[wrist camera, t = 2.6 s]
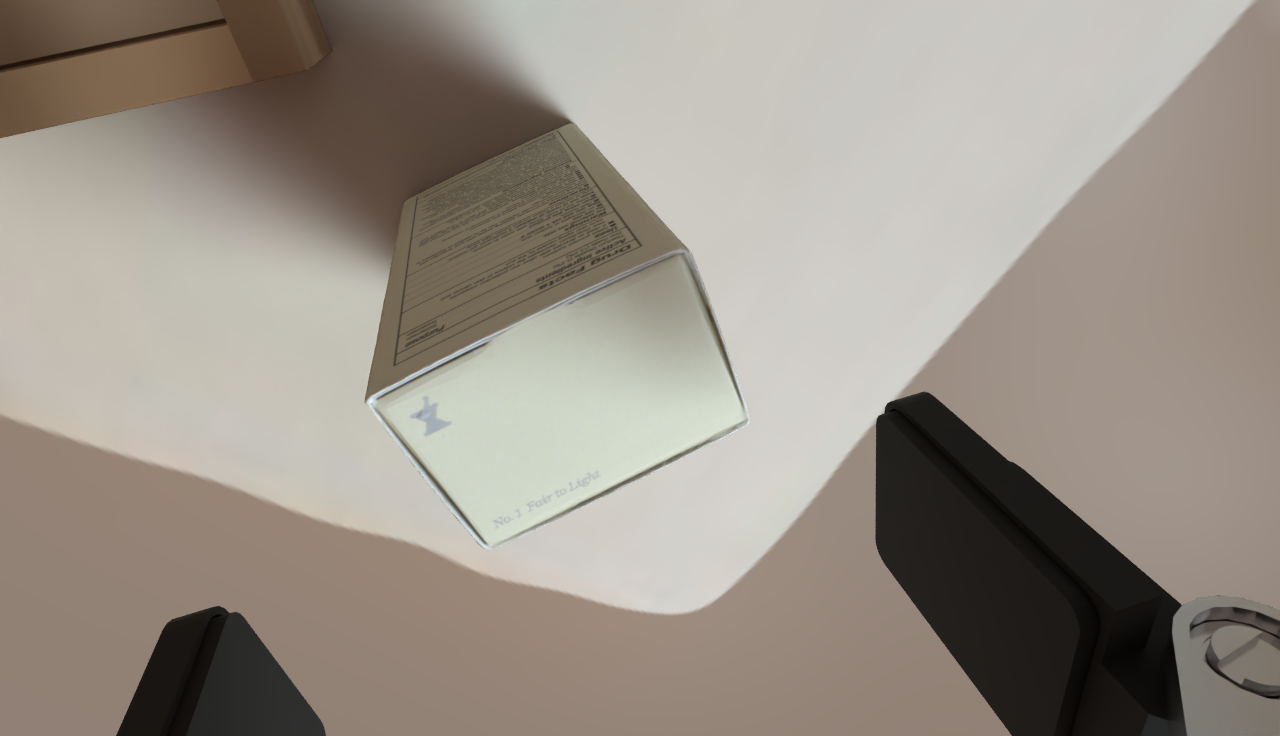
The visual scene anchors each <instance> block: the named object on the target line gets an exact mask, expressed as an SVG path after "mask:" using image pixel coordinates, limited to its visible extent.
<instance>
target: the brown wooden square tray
mask: <svg viewBox="0 0 1280 736" xmlns="http://www.w3.org/2000/svg"><path fill="white" fill-rule="evenodd" d="M330 52H332V50H331V47H330V45H329V42H328V40H327V37H326V34H325V32H324V29H323V27H322V24H321V21H320V19H319V16H318V14H317V11H316V8H315V6H314V3H313V1H312V0H0V138H3V137H7V136H12V135H16V134H21V133H26V132H30V131H35V130H39V129H44V128H48V127H53V126H57V125H62V124H66V123H71V122H75V121H80V120H85V119H89V118H94V117H98V116H103V115H107V114H112V113H116V112H121V111H125V110H130V109H134V108H139V107H144V106H148V105H153V104H157V103H162V102H166V101H171V100H175V99H180V98H184V97H189V96H193V95H198V94H202V93H207V92H212V91H216V90H221V89H225V88H230V87H234V86H239V85H243V84H248V83H252V82H257V81H261V80H266V79H271V78H275V77H280V76H284V75H289V74H293V73H298V72H302V71H306V70H308V69H309V68H310V67H312V66H313V65H314V64H316V63H317V62H318V61H320V60H321V59H322V58H324V57H325V56H326V55H328V54H329V53H330Z"/></svg>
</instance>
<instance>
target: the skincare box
mask: <svg viewBox="0 0 1280 736" xmlns="http://www.w3.org/2000/svg"><path fill="white" fill-rule="evenodd" d="M365 403H366V405H367V406H368V407H369V409H370V410H371V411H372V412H373V413H374V415H375V416H376V417H377V418H378V419H379V421H380V422H381V424H382V425H383V427H384V428H385V430H386V431H387V432H388V434H389V435H390V436H391V437H392V438H393V440H394V441H395V442H396V444H397V445H398V446H399V447H400V448H401V450H402V451H403V453H404V454H405V456H406V457H407V458H408V459H409V460H410V462H411V463H412V465H413V466H414V467H415V468H416V469H417V470H418V472H419V473H420V474H421V475H422V477H423V478H424V479H425V480H426V481H427V483H428V484H429V485H430V486H431V488H432V489H433V490H434V492H435V493H436V494H437V495H438V497H439V498H440V500H441V501H442V502H443V503H444V504H445V505H446V507H447V508H448V509H449V510H450V511H451V513H452V514H453V515H454V516H455V517H456V519H457V520H458V521H459V522H460V523H461V524H462V525H463V527H464V528H465V529H466V530H467V531H468V532H469V533H470V535H471V536H472V537H473V538H474V539H475V540H476V542H477V543H478V544H479V545H480V546H481V547H482V548H484V549H487V550H490V549H493V548H496V547H499V546H501V545H503V544H505V543H507V542H509V541H511V540H514V539H516V538H519V537H521V536H523V535H525V534H527V533H529V532H532V531H534V530H536V529H539V528H541V527H543V526H545V525H547V524H549V523H551V522H553V521H555V520H557V519H559V518H561V517H564V516H566V515H568V514H570V513H572V512H574V511H576V510H578V509H580V508H582V507H584V506H587V505H589V504H591V503H593V502H595V501H597V500H599V499H601V498H603V497H605V496H607V495H610V494H612V493H614V492H615V491H617V490H619V489H621V488H623V487H625V486H627V485H629V484H631V483H634V482H636V481H638V480H641V479H642V478H643V477H645V476H647V475H650V474H651V473H654V472H656V471H658V470H660V469H662V468H664V467H666V466H668V465H670V464H672V463H674V462H676V461H678V460H680V459H682V458H684V457H686V456H687V455H689V454H691V453H693V452H696V451H698V450H700V449H702V448H704V447H706V446H708V445H710V444H711V443H714V442H716V441H718V440H720V439H722V438H724V437H725V436H727V435H729V434H732V433H733V432H735V431H737V430H739V429H742V428H743V427H745V426H746V425H748V423H749V422H750V414H749V411H748V408H747V405H746V403H745V400H744V397H743V394H742V391H741V388H740V385H739V382H738V379H737V376H736V373H735V370H734V367H733V364H732V361H731V358H730V355H729V352H728V350H727V347H726V344H725V341H724V338H723V336H722V333H721V330H720V327H719V324H718V321H717V318H716V315H715V313H714V310H713V307H712V305H711V302H710V299H709V297H708V294H707V291H706V289H705V286H704V283H703V281H702V278H701V276H700V273H699V271H698V268H697V265H696V263H695V260H694V258H693V255H692V253H691V252H690V251H689V249H688V248H687V247H686V246H685V245H684V244H683V243H682V242H681V241H680V240H679V239H678V238H677V237H676V236H675V234H674V233H673V232H672V231H671V230H670V229H669V228H668V227H667V226H666V225H665V224H664V222H663V221H662V220H661V219H660V218H659V217H658V216H657V215H656V214H655V212H654V211H653V210H652V209H651V208H650V207H649V206H648V205H647V204H646V202H645V201H644V200H643V199H642V198H641V197H640V196H639V194H638V193H637V192H636V191H635V190H634V189H633V188H632V186H631V185H630V184H629V183H628V182H627V181H626V180H625V179H624V178H623V177H622V176H621V175H620V174H619V172H618V171H617V170H616V169H615V168H614V167H613V166H612V165H611V163H610V162H609V161H608V160H607V159H606V158H605V157H604V156H603V154H602V153H601V152H600V151H599V150H598V149H597V148H596V146H595V145H594V144H593V143H592V142H591V141H590V140H589V139H588V137H587V136H586V135H585V134H584V133H583V132H582V131H581V130H580V129H579V128H578V126H577V125H575V124H567V125H565V126H562V127H560V128H558V129H555V130H553V131H551V132H548V133H546V134H544V135H542V136H539V137H537V138H535V139H533V140H530V141H528V142H526V143H524V144H522V145H519V146H517V147H515V148H513V149H511V150H509V151H506V152H504V153H502V154H500V155H498V156H495V157H493V158H491V159H489V160H487V161H485V162H483V163H481V164H479V165H477V166H474V167H472V168H470V169H468V170H466V171H464V172H461V173H459V174H457V175H455V176H453V177H451V178H449V179H447V180H445V181H443V182H441V183H439V184H437V185H435V186H433V187H431V188H429V189H427V190H425V191H423V192H421V193H419V194H417V195H415V196H413V197H411V198H409V199H408V200H406V201H405V202H404V204H403V207H402V212H401V217H400V223H399V228H398V233H397V239H396V244H395V248H394V254H393V258H392V263H391V268H390V275H389V280H388V285H387V290H386V295H385V299H384V303H383V310H382V314H381V321H380V325H379V331H378V336H377V342H376V347H375V351H374V356H373V361H372V365H371V370H370V375H369V380H368V386H367V391H366V396H365Z"/></svg>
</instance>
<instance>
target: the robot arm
mask: <svg viewBox="0 0 1280 736" xmlns="http://www.w3.org/2000/svg"><path fill="white" fill-rule="evenodd" d="M876 545H877V549H878V552H879V554H880V557H881V558H882V560H883V562H884V563H885V565H886V566H887V568H888V569H889V570H890V572H891V573H892V574H893V576H894V577H895V579H896V580H897V581H898V583H899V584H900V585H901V587H902V588H903V589H904V591H905V592H906V593H907V595H908V596H909V597H910V599H911V600H912V601H913V603H914V604H915V605H916V607H917V608H918V610H919V611H920V612H921V614H922V615H923V616H924V618H925V619H926V620H927V622H928V623H929V624H930V625H931V627H932V628H933V630H934V631H935V632H936V634H937V635H938V636H939V638H940V639H941V641H942V642H943V643H944V644H945V646H946V647H947V649H948V650H949V651H950V653H951V654H952V655H953V657H954V658H955V659H956V661H957V662H958V663H959V665H960V666H961V667H962V669H963V670H964V672H965V673H966V674H967V676H968V677H969V678H970V680H971V681H972V682H973V684H974V685H975V686H976V688H977V689H978V690H979V692H980V693H981V694H982V696H983V697H984V698H985V700H986V701H987V702H988V704H989V705H990V707H991V708H992V709H993V711H994V712H995V713H996V715H997V716H998V717H999V719H1000V720H1001V721H1002V723H1003V724H1004V725H1005V727H1006V728H1007V729H1008V731H1009V732H1010V734H1011V735H1012V736H1280V610H1277V609H1275V608H1273V607H1271V606H1269V605H1265V604H1262V603H1259V602H1255V601H1252V600H1248V599H1245V598H1239V597H1230V596H1220V595H1217V596H1208V597H1200V598H1196V599H1194V600H1192V601H1190V602H1188V603H1186V604H1184V605H1181V604H1180V603H1179V602H1178V601H1177V600H1175V599H1174V598H1173V597H1172V596H1171V595H1170V594H1168V593H1167V592H1166V591H1165V590H1164V589H1162V588H1161V587H1160V586H1159V585H1158V584H1157V583H1156V582H1154V581H1153V580H1152V579H1151V578H1150V577H1149V576H1147V575H1146V574H1145V573H1144V572H1142V571H1141V570H1140V569H1139V568H1138V567H1137V566H1136V565H1134V564H1133V563H1132V562H1131V561H1130V560H1129V559H1128V558H1126V557H1125V556H1124V555H1123V554H1122V553H1121V552H1119V551H1118V550H1117V549H1116V548H1115V547H1114V546H1112V545H1111V544H1110V543H1109V542H1108V541H1107V540H1105V539H1104V538H1103V537H1102V536H1101V535H1099V534H1098V533H1097V532H1096V531H1095V530H1094V529H1093V528H1091V527H1090V526H1089V525H1088V524H1087V523H1086V522H1084V521H1083V520H1082V519H1081V518H1080V517H1079V516H1077V515H1076V514H1075V513H1074V512H1073V511H1071V510H1070V509H1069V508H1068V507H1067V506H1066V505H1064V504H1063V503H1062V502H1061V501H1060V500H1059V499H1057V498H1056V497H1055V496H1054V495H1053V494H1052V493H1051V492H1049V491H1048V490H1047V489H1046V488H1045V487H1044V486H1042V485H1041V484H1040V483H1039V482H1037V481H1036V480H1035V479H1034V478H1033V477H1032V476H1031V475H1030V474H1028V473H1027V472H1026V471H1025V470H1024V469H1022V468H1021V467H1019V466H1018V465H1016V464H1015V463H1013V462H1010V461H1008V460H1007V459H1006V458H1005V457H1003V456H1002V455H1001V454H1000V453H999V452H998V451H996V450H995V449H994V448H993V447H992V446H991V445H989V444H988V443H987V442H986V441H985V440H983V439H982V438H981V437H980V436H979V435H978V434H977V433H976V432H975V431H973V430H972V429H971V428H970V427H968V425H966V424H965V423H964V422H963V421H962V420H960V418H958V417H957V416H956V415H955V414H954V413H953V412H951V411H950V410H949V409H948V408H947V407H946V406H944V405H943V404H942V403H941V402H940V401H939V400H937V399H936V398H935V397H934V396H933V395H931V394H930V393H927V392H921V393H918V394H915V395H911V396H908V397H905V398H901V399H898V400H895V401H891V402H889V403H887V405H886V407H885V413H884V414H882V415H880V416H878V418H877V422H876ZM116 736H326V734H325V729H324V726H323V724H322V722H321V720H320V719H319V717H318V716H317V715H316V713H315V712H314V711H313V709H312V708H311V707H310V705H309V704H308V703H307V701H306V700H305V699H304V697H303V696H302V695H301V693H300V692H299V691H298V689H297V688H296V687H295V686H294V684H293V683H292V681H291V680H290V679H289V677H288V676H287V674H286V673H285V672H284V670H283V669H282V668H281V666H280V665H279V664H278V662H277V661H276V660H275V658H274V657H273V656H272V655H271V653H270V652H269V650H268V649H267V648H266V646H265V645H264V644H263V642H262V641H261V640H260V638H259V637H258V636H257V634H256V633H255V632H254V630H253V629H252V628H251V626H250V625H249V624H248V623H247V621H246V620H245V618H244V617H243V616H242V615H241V614H240V613H237V612H234V613H229V612H228V611H227V610H226V609H225V608H222V607H220V606H216V607H212V608H208V609H205V610H202V611H198V612H195V613H192V614H189V615H185V616H182V617H179V618H175V619H172V620H171V621H170V622H168V623H167V624H166V626H165V627H164V629H163V631H162V633H161V635H160V637H159V640H158V642H157V644H156V646H155V649H154V651H153V653H152V655H151V658H150V660H149V662H148V665H147V667H146V669H145V671H144V674H143V676H142V678H141V681H140V683H139V685H138V687H137V690H136V692H135V694H134V697H133V699H132V701H131V703H130V706H129V708H128V710H127V713H126V715H125V717H124V720H123V722H122V724H121V726H120V728H119V731H118V733H117V735H116Z"/></svg>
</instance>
